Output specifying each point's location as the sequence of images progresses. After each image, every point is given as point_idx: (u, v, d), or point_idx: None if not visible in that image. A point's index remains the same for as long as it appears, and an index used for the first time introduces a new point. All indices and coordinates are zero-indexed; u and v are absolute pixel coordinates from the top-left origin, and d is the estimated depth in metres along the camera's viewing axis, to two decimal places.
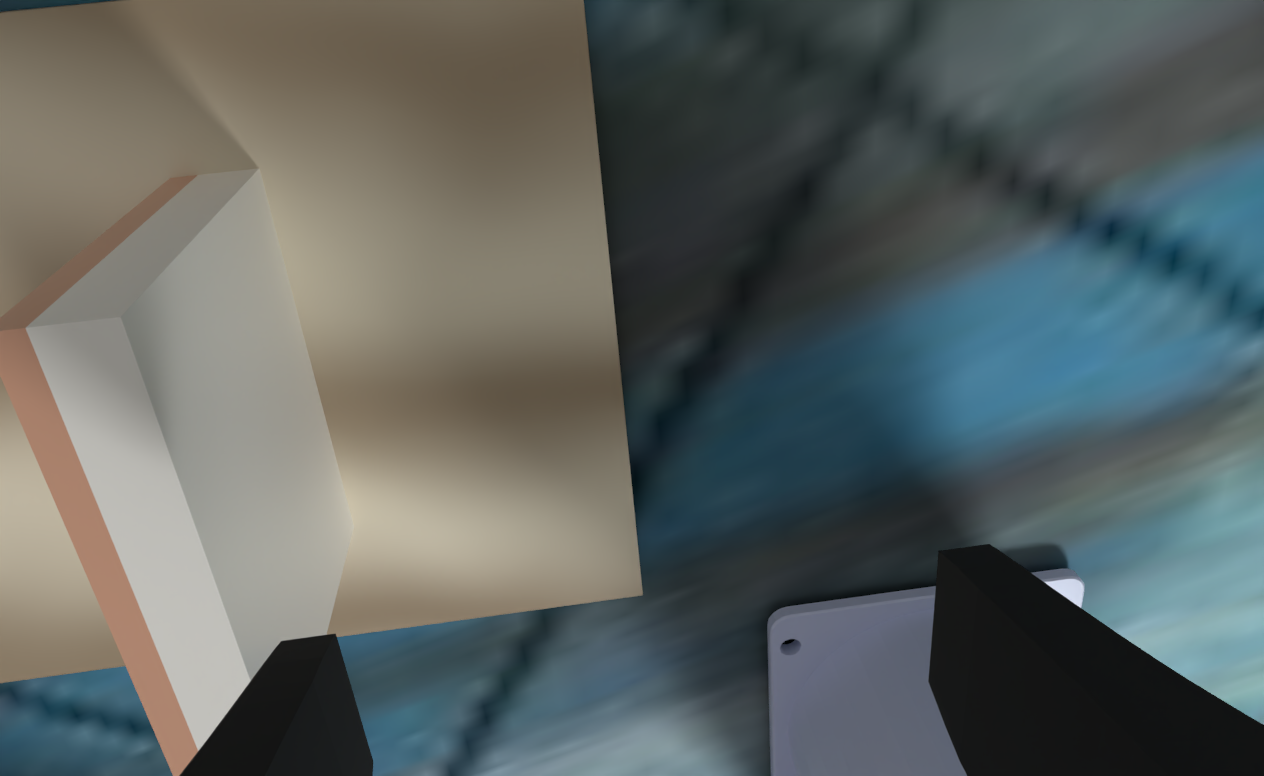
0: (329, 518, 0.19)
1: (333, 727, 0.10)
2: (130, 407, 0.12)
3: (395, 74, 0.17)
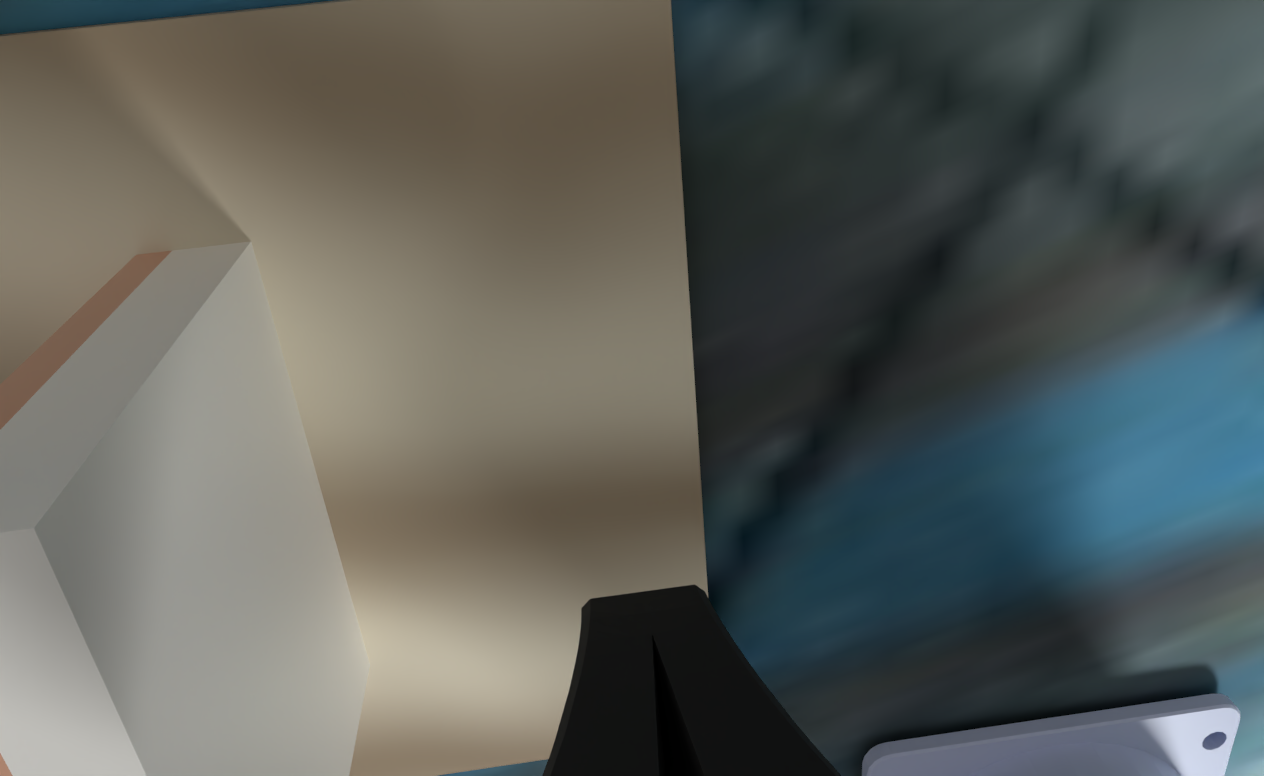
0: (341, 671, 0.15)
1: (655, 681, 0.10)
2: (54, 648, 0.08)
3: (427, 122, 0.13)
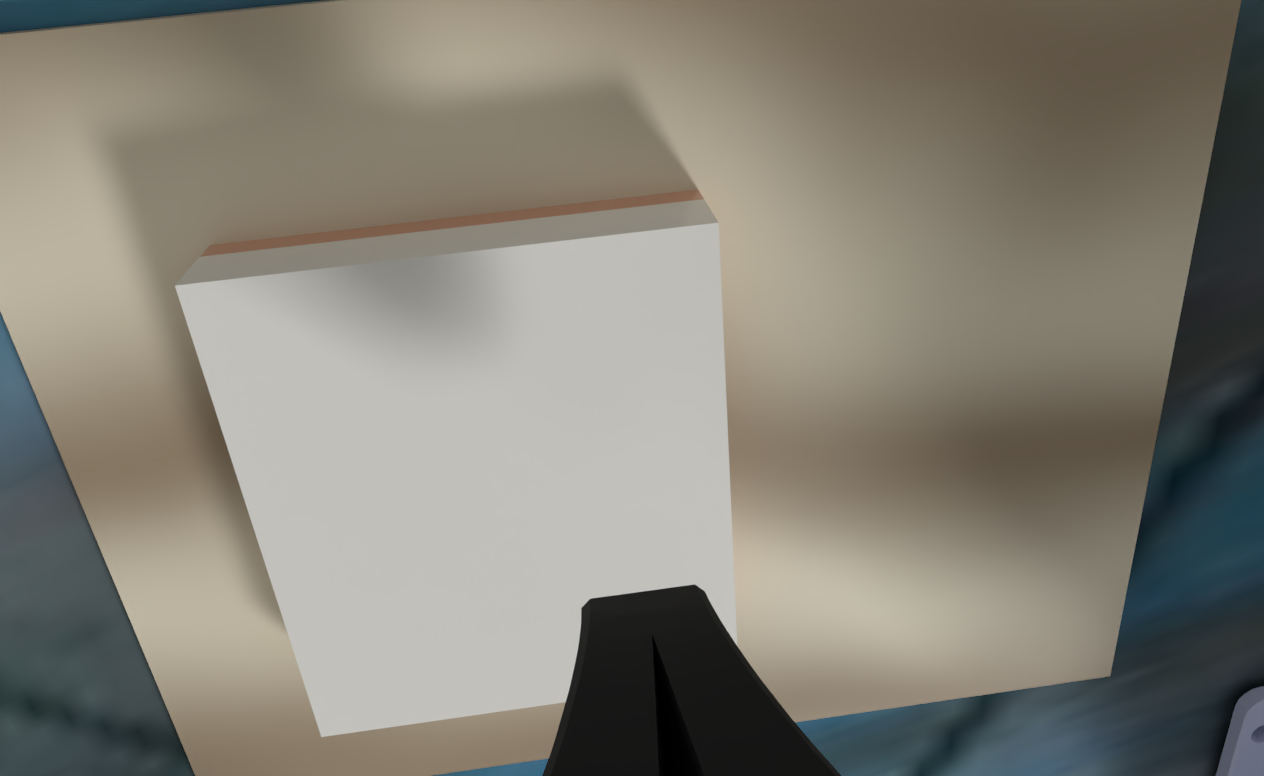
0: None
1: (655, 681, 0.10)
2: None
3: (1001, 59, 0.14)
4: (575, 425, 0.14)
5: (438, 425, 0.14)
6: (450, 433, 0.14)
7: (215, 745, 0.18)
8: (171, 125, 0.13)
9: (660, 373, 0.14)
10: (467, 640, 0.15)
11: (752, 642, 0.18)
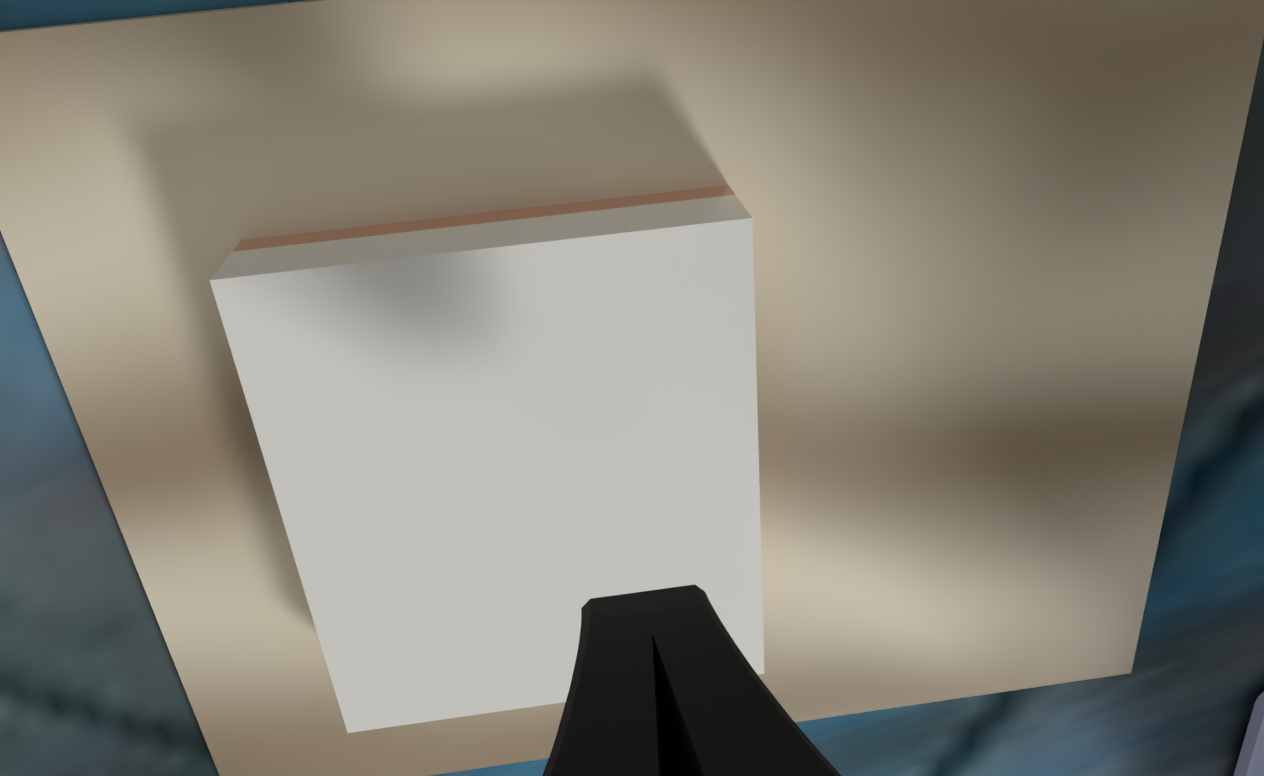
0: None
1: (655, 681, 0.10)
2: None
3: (1032, 55, 0.14)
4: (606, 420, 0.14)
5: (469, 420, 0.14)
6: (481, 428, 0.14)
7: (238, 741, 0.18)
8: (204, 120, 0.13)
9: (691, 368, 0.14)
10: (494, 636, 0.15)
11: (775, 639, 0.18)
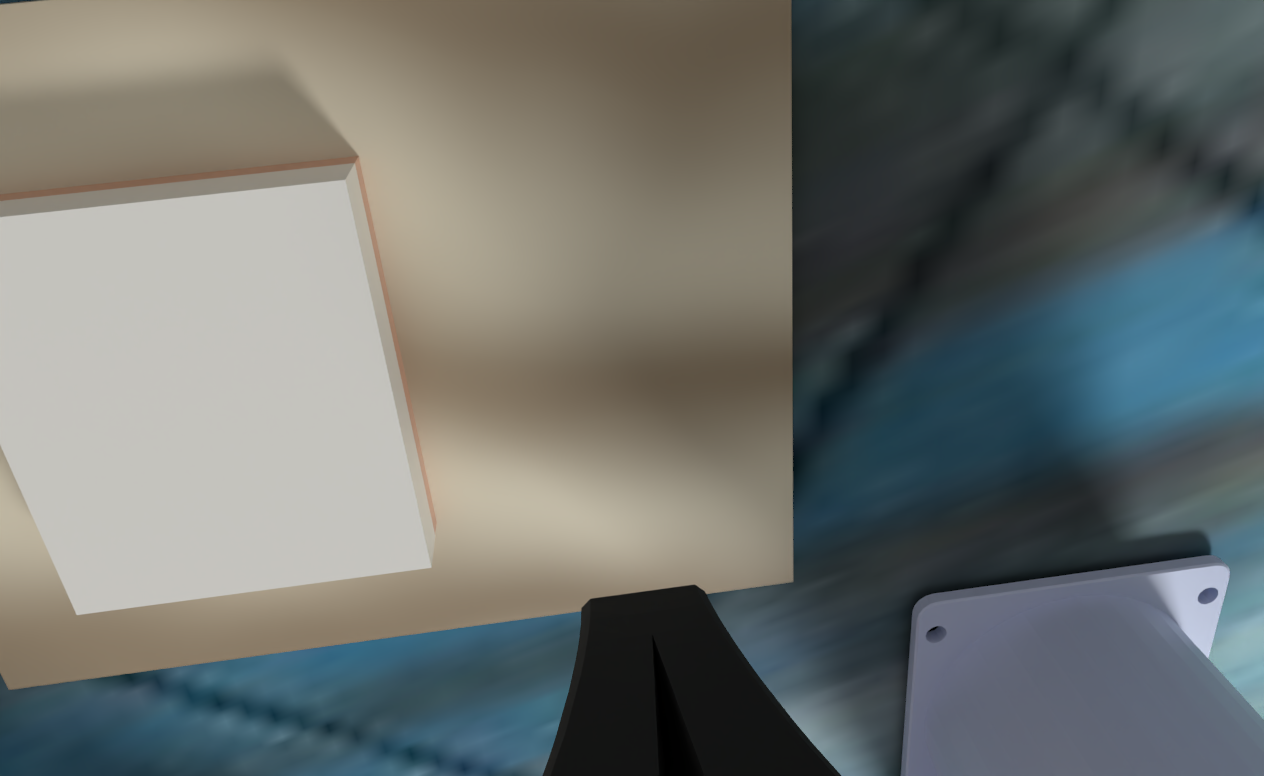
0: (343, 526, 0.19)
1: (655, 681, 0.10)
2: None
3: (597, 50, 0.17)
4: (253, 347, 0.17)
5: (137, 345, 0.17)
6: (148, 352, 0.17)
7: (8, 633, 0.21)
8: None
9: (318, 304, 0.17)
10: (190, 531, 0.19)
11: (468, 547, 0.21)
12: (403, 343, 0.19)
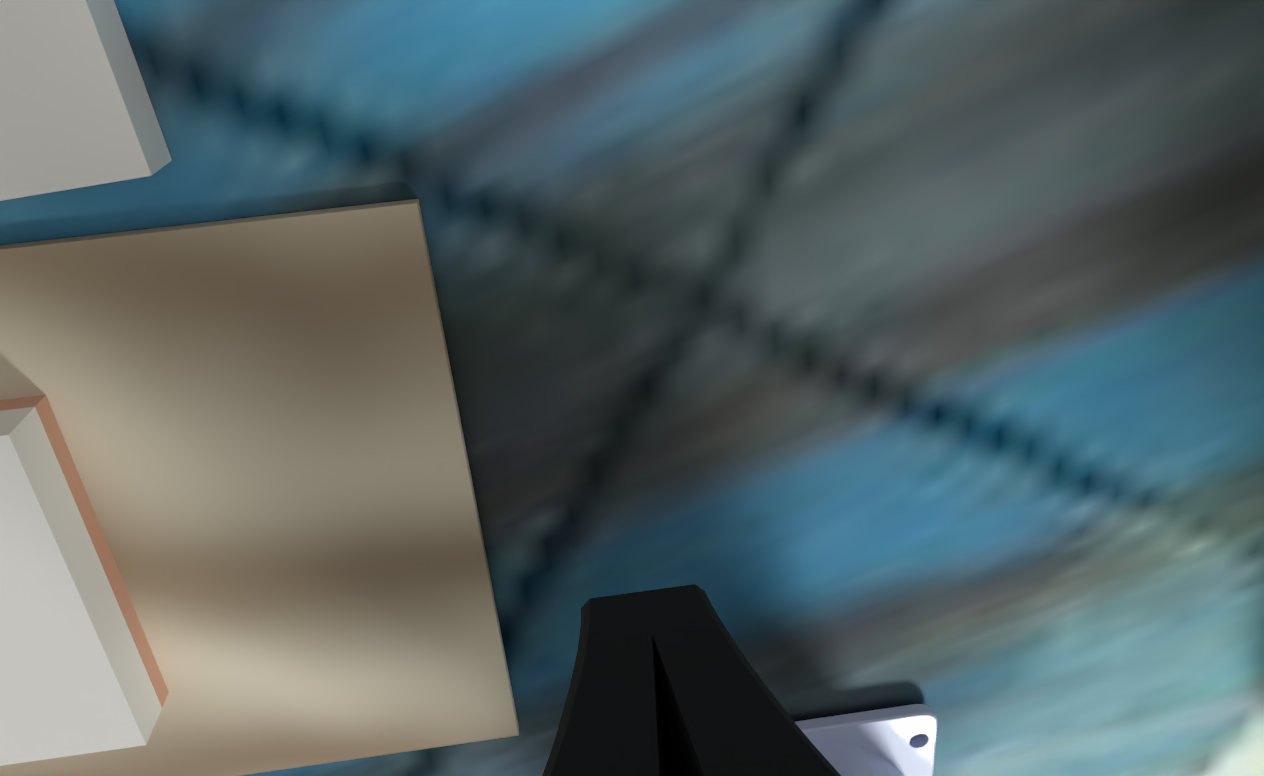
0: (56, 713, 0.21)
1: (655, 681, 0.10)
2: None
3: (253, 304, 0.19)
4: None
5: None
6: None
7: None
8: None
9: (0, 534, 0.19)
10: None
11: (202, 712, 0.23)
12: (112, 545, 0.21)
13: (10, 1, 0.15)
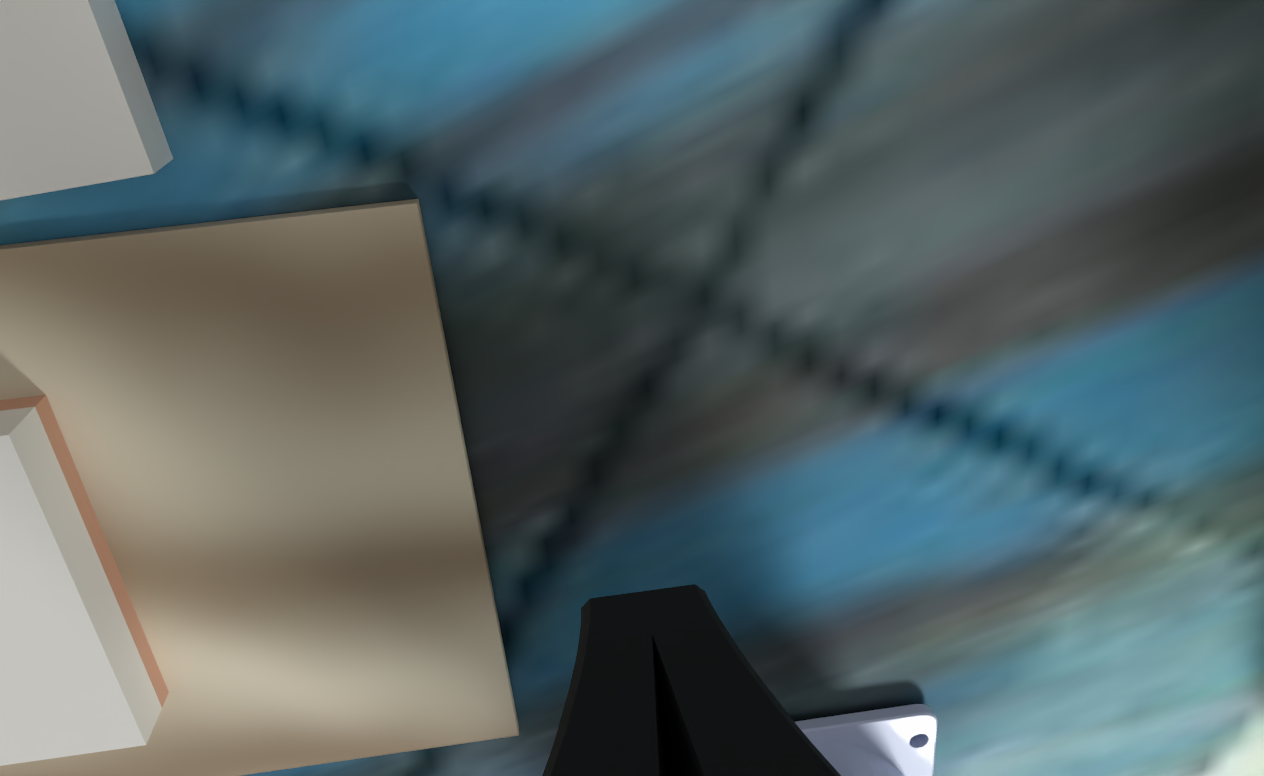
0: (56, 713, 0.21)
1: (655, 681, 0.10)
2: None
3: (253, 304, 0.19)
4: None
5: None
6: None
7: None
8: None
9: (0, 534, 0.19)
10: None
11: (202, 712, 0.23)
12: (112, 545, 0.21)
13: (11, 0, 0.15)
